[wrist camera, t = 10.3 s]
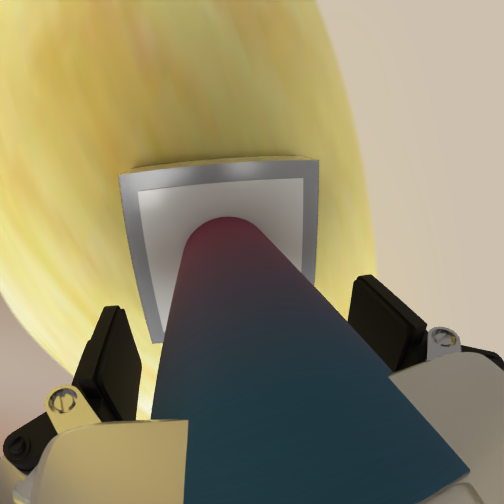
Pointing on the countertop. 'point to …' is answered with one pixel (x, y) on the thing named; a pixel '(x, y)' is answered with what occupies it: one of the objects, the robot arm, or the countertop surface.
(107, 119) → the countertop surface
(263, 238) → the cup
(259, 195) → the riser
